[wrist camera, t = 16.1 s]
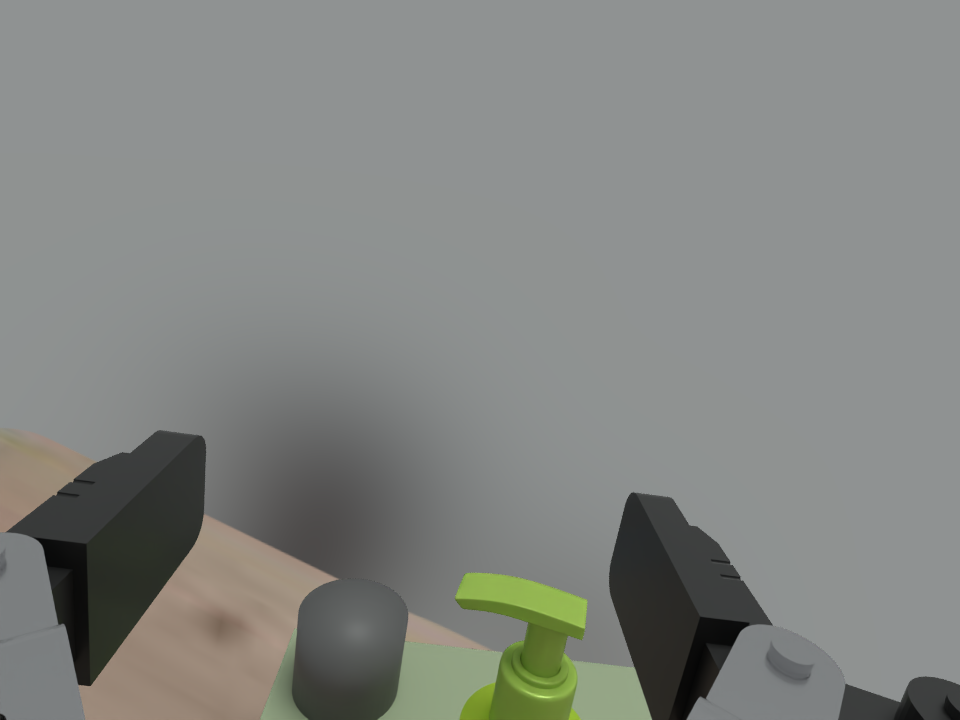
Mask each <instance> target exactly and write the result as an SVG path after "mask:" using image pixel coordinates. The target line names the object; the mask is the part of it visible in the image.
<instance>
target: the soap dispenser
mask: <svg viewBox="0 0 960 720" xmlns="http://www.w3.org/2000/svg"><path fill="white" fill-rule="evenodd" d="M455 600H456V601H457V603H458V604H459V605H460V606H461V608H463V609H469V610H479V611H487V612H493V613H497V614H502V615H506V616H509V617H513V618H516V619H519V620H522V621H525V622H528V627H527V632H526V636H525V640H524V641H519V642H516V643H514V644H512V645H510V646H509V647H508V648H507V649H506V650H505V651H504V652H503V654H502V656H501V659H500V663H499V668H498V673H497V678H496V682H495V683H492V684H489V685H486V686H484V687H482V688H481V689H479V690H477V691H476V692H475V693H474V694H473V695H472V696H471V697H470V698H469V699H468V700H467V702H466V703H465V705H464V707H463V709H462V711H461V715H460V719H459V720H581V719H580V717H579V716H578V714H577V713H576V712H575V711H574V709H573V708H572V704H573V700H574V696H575V692H576V687H577V682H578V676H577V671H576V668H575V666H574V664H573V663H572V661H571V660H570V658H568V656H567V655H566V654H565V653H564V649H565V645H566V640H567V636H571V637H574V638H577V639H580V640H582V639H583V635H584V631H585V624H586V611H587V600H586V599H583V598H581V597H578V596H575V595H572V594H570V593H567V592H564V591H561V590H558V589H555V588H553V587H550V586H546V585H543V584H540V583H537V582H534V581H530V580H526V579H522V578H518V577H513V576H506V575H499V574H489V573H466V574H465V575H464V577H463V579H462V582H461V584H460V586H459V589H458V591H457V594H456V596H455Z"/></svg>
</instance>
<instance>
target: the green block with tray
mask: <svg viewBox="0 0 960 720" xmlns="http://www.w3.org/2000/svg"><path fill="white" fill-rule="evenodd" d="M407 623H408V609H407V606H406V604H405V602H404V601H403V599H402V598H401V597H400V596H399V595H398V594H397V593H396V592H395V591H394V590H392V589H391V588H389V587H387V586H385V585H383V584H381V583H378V582H375V581H371V580H366V579H341V580H336V581H332V582H329V583H326V584H323V585H321V586H319V587H318V588H316V589H314V590H313V591H312V592H310V593H309V594H308V595H307V596H306V597H305V599H304V600H303V601H302V603H301V605H300V608H299V613H298V625H297V629H294V632H293V634H292V637H291V640H290V642H289V645H288V647H287V650H286V653H285V655H284V658H283V661H282V663H281V666H280V668H279V671H278V674H277V676H276V679H275V682H274V684H273V687H272V689H271V692H270V695H269V697H268V700H267V703H266V705H265V708H264V710H263V713H262V716H261V718H260V720H459V719H460V715H461V711H462V709H463V707H464V705H465V703H466V702H467V700H468V699H469V698H470V697H471V696H472V695H473V694H474V693H475V692H476V691H477V690H479V689H481V688H482V687H484V686H486V685H489V684H492V683H495V682H496V678H497V673H498V668H499V663H500V659H501V656H502V654H503V653H502V652H494V651H485V650H477V649H468V648H459V647H451V646H442V645H433V644H425V643H416V642H407V641H405V636H406V630H407ZM572 663H573V664H574V666H575V668H576V671H577V676H578V682H577V687H576V692H575V696H574V700H573V704H572V708H573V709H574V711H575V712H576V713H577V714H578V716H579V717H580V719H581V720H652V718H651V715H650V712H649V709H648V706H647V703H646V700H645V697H644V694H643V691H642V688H641V685H640V682H639V679H638V676H637V673H636V670H635V668H632V667H623V666H615V665H606V664H597V663H589V662H580V661H572Z"/></svg>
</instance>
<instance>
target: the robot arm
mask: <svg viewBox="0 0 960 720" xmlns="http://www.w3.org/2000/svg"><path fill="white" fill-rule="evenodd" d="M205 462H206V444H205V440H204V438H203V437H202V436H199V435H192V434H184V433H177V432H169V431H161V430H159V431H157V432H155V433H154V434H153V435H152V436H151V437H149V438H148V439H147V440H146V441H144V442H143V443H142V444H141V445H140V446H138V447H137V448H136V449H135V450H134V451H132V452H131V453H123V452H122V453H119V454H117V455H114V456H112V457H109V458H107V459H104V460H102V461H99V462H97V463H94V464H93V465H91V466H90V467H89V468H88V469H86V470H85V471H84V472H82V473H81V474H80V475H79V476H77V477H76V478H75V479H74V481H73V483H72V482H70V483H68V484H67V485H66V486H64V487H63V488H62V489H61V490H59V491H58V492H57V495H56V496H55V495H53V496H52V497H50V498H49V499H48V500H47V501H45V502H44V503H43V504H41V505H40V506H39V507H38V508H36V509H35V510H34V511H32V512H31V513H30V514H29V515H27V516H26V517H25V518H23V519H22V520H21V521H20V522H18V523H17V524H16V525H14V526H13V527H12V528H11V529H9V530H8V531H7V532H5V533H1V532H0V720H85V716H84V711H83V706H82V702H81V697H80V692H79V687H78V685H84V686H91V685H92V683H93V682H94V681H95V679H96V678H97V677H98V675H99V674H100V673H101V671H102V670H103V668H104V667H105V666H106V664H107V663H108V662H109V660H110V659H111V658H112V656H113V655H114V654H115V652H116V651H117V649H118V648H119V647H120V645H121V644H122V643H123V641H124V640H125V639H126V637H127V636H128V634H129V633H130V632H131V630H132V629H133V628H134V626H135V625H136V624H137V622H138V621H139V620H140V618H141V617H142V615H143V614H144V613H145V611H146V610H147V609H148V607H149V606H150V605H151V603H152V602H153V600H154V599H155V598H156V596H157V595H158V594H159V592H160V591H161V590H162V588H163V587H164V586H165V584H166V583H167V581H168V580H169V579H170V577H171V576H172V575H173V573H174V572H175V571H176V569H177V568H178V566H179V565H180V564H181V562H182V561H183V560H184V558H185V557H186V556H187V554H188V553H189V552H190V550H191V549H192V547H193V546H194V544H195V542H196V540H197V538H198V535H199V533H200V529H201V526H202V521H203V515H204V492H205ZM609 587H610V594H611V598H612V601H613V604H614V607H615V610H616V613H617V616H618V619H619V622H620V625H621V628H622V631H623V634H624V637H625V640H626V643H627V646H628V649H629V652H630V655H631V658H632V661H633V664H634V667H635V670H636V673H637V676H638V679H639V682H640V685H641V688H642V691H643V694H644V697H645V700H646V703H647V706H648V709H649V712H650V715H651V718H652V720H960V685H958V684H956V683H953V682H950V681H947V680H944V679H939V678H934V677H918V678H915V679H913V680H912V681H910V682H909V685H908V686H907V688H906V691H905V693H904V695H903V698H902V700H901V702H897V701H894V700H891V699H888V698H885V697H882V696H880V695H876V694H873V693H871V692H868V691H865V690H862V689H859V688H856V687H853V686H850V685H847V684H845V679H844V676H843V673H842V671H841V669H840V668H839V667H838V665H837V664H836V662H835V661H834V660H833V659H832V658H831V657H830V656H829V655H828V654H827V653H826V652H825V651H824V650H822V649H821V648H820V647H818V646H817V645H816V644H814V643H812V642H811V641H809V640H808V639H806V638H804V637H802V636H800V635H798V634H796V633H794V632H791V631H789V630H786V629H783V628H780V627H776V626H773V625H772V623H771V622H770V620H769V619H768V617H767V616H766V614H765V613H764V611H763V610H762V608H761V607H760V605H759V604H758V602H757V601H756V600H755V598H754V596H753V595H752V593H751V592H750V591H749V589H748V587H747V586H746V584H745V583H744V581H741V580H740V576H739V574H738V572H737V571H736V570H735V568H734V566H733V565H730V561H729V559H728V558H727V556H726V555H725V553H724V552H723V550H722V549H721V547H720V546H719V544H718V543H717V542H715V541H714V540H713V539H712V538H711V537H709V536H708V535H707V534H706V533H704V532H703V531H702V530H700V529H699V528H698V527H696V526H689V524H688V522H687V521H686V519H685V518H684V516H683V514H682V513H681V511H680V510H679V508H678V507H677V505H676V503H675V502H674V500H673V499H672V498H670V497H663V496H656V495H648V494H641V493H631V494H630V495H629V497H628V499H627V501H626V504H625V508H624V512H623V516H622V520H621V524H620V528H619V532H618V536H617V540H616V544H615V548H614V552H613V556H612V560H611V565H610V573H609Z"/></svg>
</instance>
